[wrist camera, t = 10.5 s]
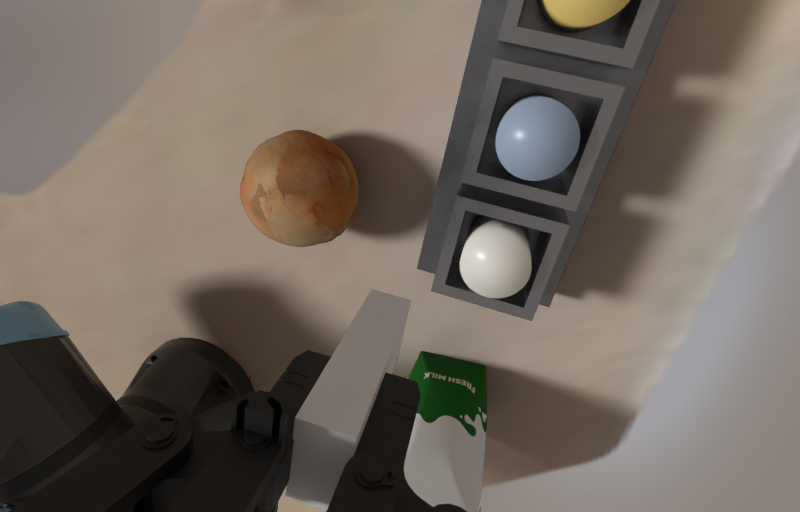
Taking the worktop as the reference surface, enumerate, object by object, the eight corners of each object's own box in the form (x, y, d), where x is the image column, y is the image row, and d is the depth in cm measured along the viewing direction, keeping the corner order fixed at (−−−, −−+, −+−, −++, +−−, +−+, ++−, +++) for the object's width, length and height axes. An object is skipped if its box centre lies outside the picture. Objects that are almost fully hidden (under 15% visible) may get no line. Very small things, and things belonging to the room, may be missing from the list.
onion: (338, 245, 44) (292, 290, 35) (260, 182, 43) (193, 212, 34) (393, 172, 39) (358, 203, 30) (307, 101, 39) (245, 111, 30)
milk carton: (405, 405, 50) (343, 593, 32) (413, 340, 46) (349, 513, 28) (481, 424, 48) (461, 633, 30) (496, 359, 44) (484, 555, 27)
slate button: (490, 155, 33) (485, 170, 28) (510, 86, 30) (509, 89, 26) (556, 172, 32) (562, 189, 27) (581, 102, 30) (593, 108, 25)
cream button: (459, 260, 37) (452, 287, 32) (475, 205, 34) (469, 225, 30) (518, 276, 36) (518, 306, 31) (538, 221, 34) (541, 245, 29)
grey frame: (423, 255, 42) (404, 294, 35) (511, -104, 30) (510, -158, 22) (546, 291, 40) (553, 339, 33) (693, -73, 28) (754, -122, 21)
